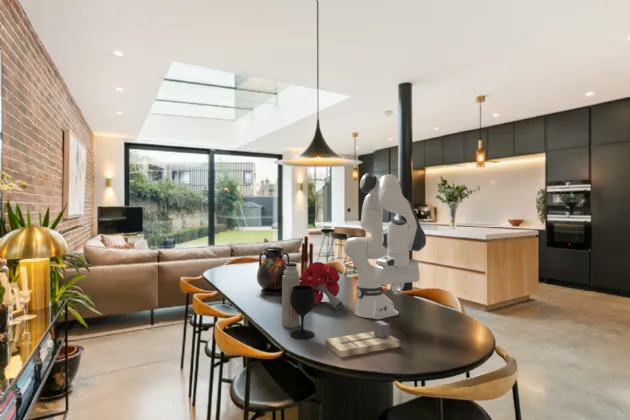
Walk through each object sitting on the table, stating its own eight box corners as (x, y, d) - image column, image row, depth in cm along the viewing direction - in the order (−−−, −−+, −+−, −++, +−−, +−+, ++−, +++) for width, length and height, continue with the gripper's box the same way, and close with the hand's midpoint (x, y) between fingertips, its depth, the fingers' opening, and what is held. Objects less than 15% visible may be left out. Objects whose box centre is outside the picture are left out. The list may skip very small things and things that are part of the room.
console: (381, 336, 146) (381, 330, 146) (399, 346, 135) (399, 340, 135) (325, 345, 135) (325, 338, 135) (340, 357, 124) (340, 350, 124)
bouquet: (347, 316, 195) (317, 281, 214) (361, 283, 184) (328, 250, 204) (317, 326, 181) (288, 288, 201) (330, 292, 171) (298, 256, 191)
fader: (382, 332, 142) (382, 320, 142) (389, 336, 137) (389, 324, 137) (373, 334, 140) (373, 321, 140) (381, 338, 136) (381, 325, 136)
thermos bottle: (301, 326, 156) (301, 264, 156) (283, 328, 154) (284, 265, 154) (297, 321, 164) (297, 261, 164) (280, 322, 162) (281, 262, 162)
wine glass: (314, 330, 152) (314, 284, 152) (314, 339, 141) (315, 290, 141) (290, 330, 152) (290, 284, 151) (289, 339, 141) (289, 290, 141)
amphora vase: (253, 296, 208) (253, 250, 208) (260, 288, 230) (260, 246, 229) (289, 297, 207) (289, 250, 207) (292, 289, 229) (293, 246, 229)
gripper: (412, 258, 149) (412, 290, 149) (372, 260, 141) (372, 294, 140) (423, 259, 143) (422, 293, 143) (381, 262, 135) (381, 297, 135)
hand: (397, 294), depth 142 cm, fingers closed
